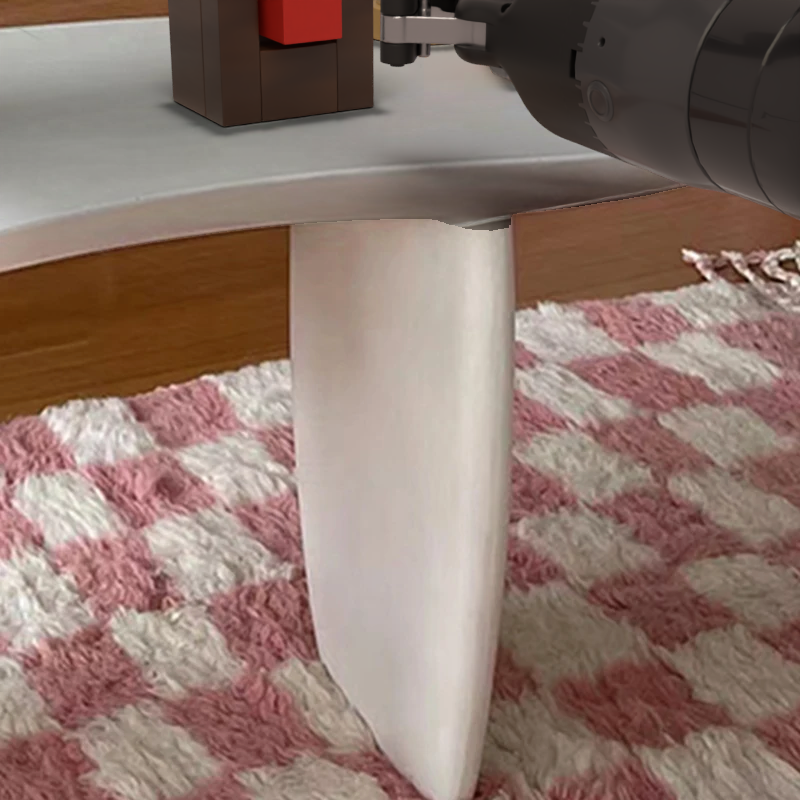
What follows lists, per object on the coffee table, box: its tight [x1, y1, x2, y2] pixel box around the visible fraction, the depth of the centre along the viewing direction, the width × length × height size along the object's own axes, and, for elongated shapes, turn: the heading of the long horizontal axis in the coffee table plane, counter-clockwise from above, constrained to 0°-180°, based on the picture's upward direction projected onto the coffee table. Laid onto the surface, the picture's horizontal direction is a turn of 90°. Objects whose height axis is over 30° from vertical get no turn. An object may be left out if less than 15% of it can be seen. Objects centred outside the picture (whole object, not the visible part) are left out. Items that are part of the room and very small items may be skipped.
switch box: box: [167, 0, 375, 127], centre depth 77 cm, size 8×6×9 cm
